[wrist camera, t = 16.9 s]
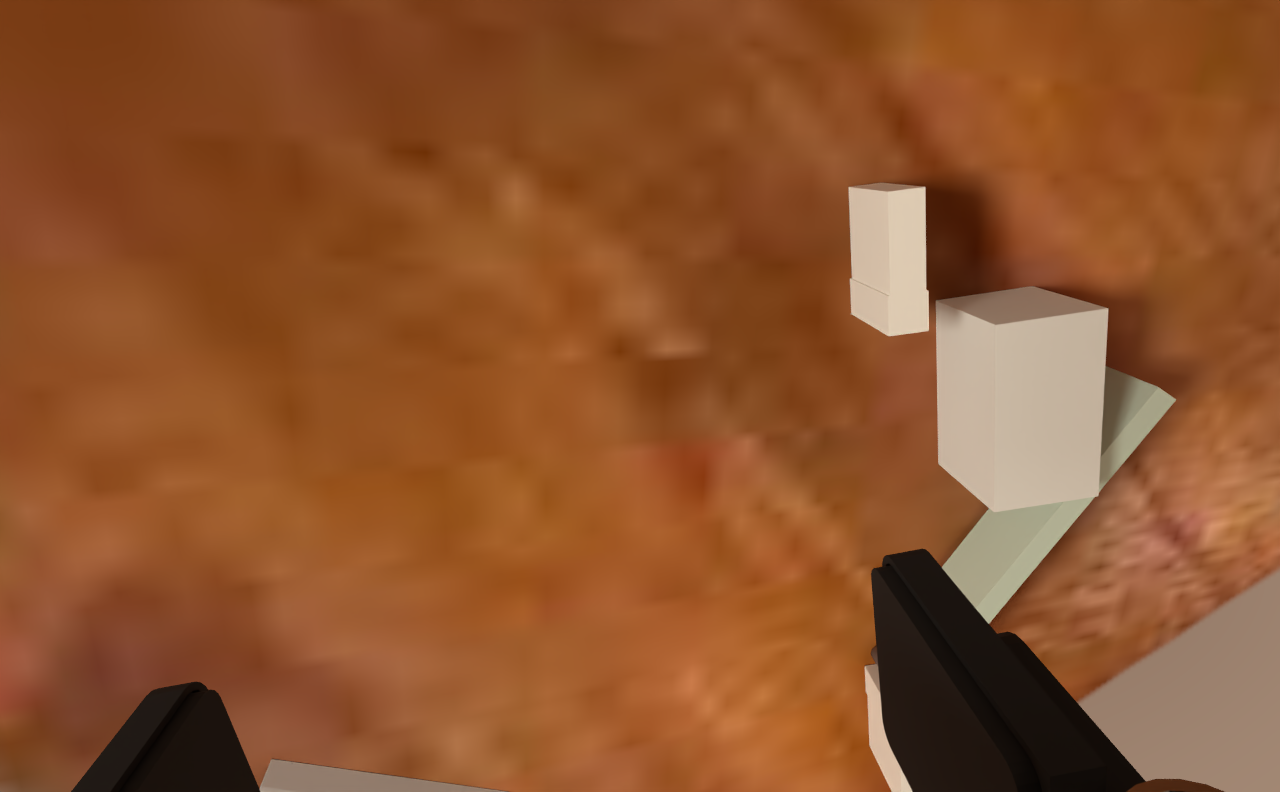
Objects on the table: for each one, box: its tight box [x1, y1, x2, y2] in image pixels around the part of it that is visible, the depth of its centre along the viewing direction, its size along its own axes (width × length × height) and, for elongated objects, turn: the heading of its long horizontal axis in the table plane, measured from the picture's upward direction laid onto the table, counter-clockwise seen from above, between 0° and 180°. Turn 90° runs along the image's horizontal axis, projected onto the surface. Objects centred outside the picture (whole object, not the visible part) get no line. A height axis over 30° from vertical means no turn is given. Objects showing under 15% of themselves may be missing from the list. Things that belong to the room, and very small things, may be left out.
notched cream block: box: [849, 183, 929, 792], centre depth 39 cm, size 33×2×5 cm, turn 7°
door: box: [871, 366, 1176, 666], centre depth 40 cm, size 20×2×5 cm, turn 148°
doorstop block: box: [936, 286, 1108, 512], centre depth 37 cm, size 9×5×6 cm, turn 8°
